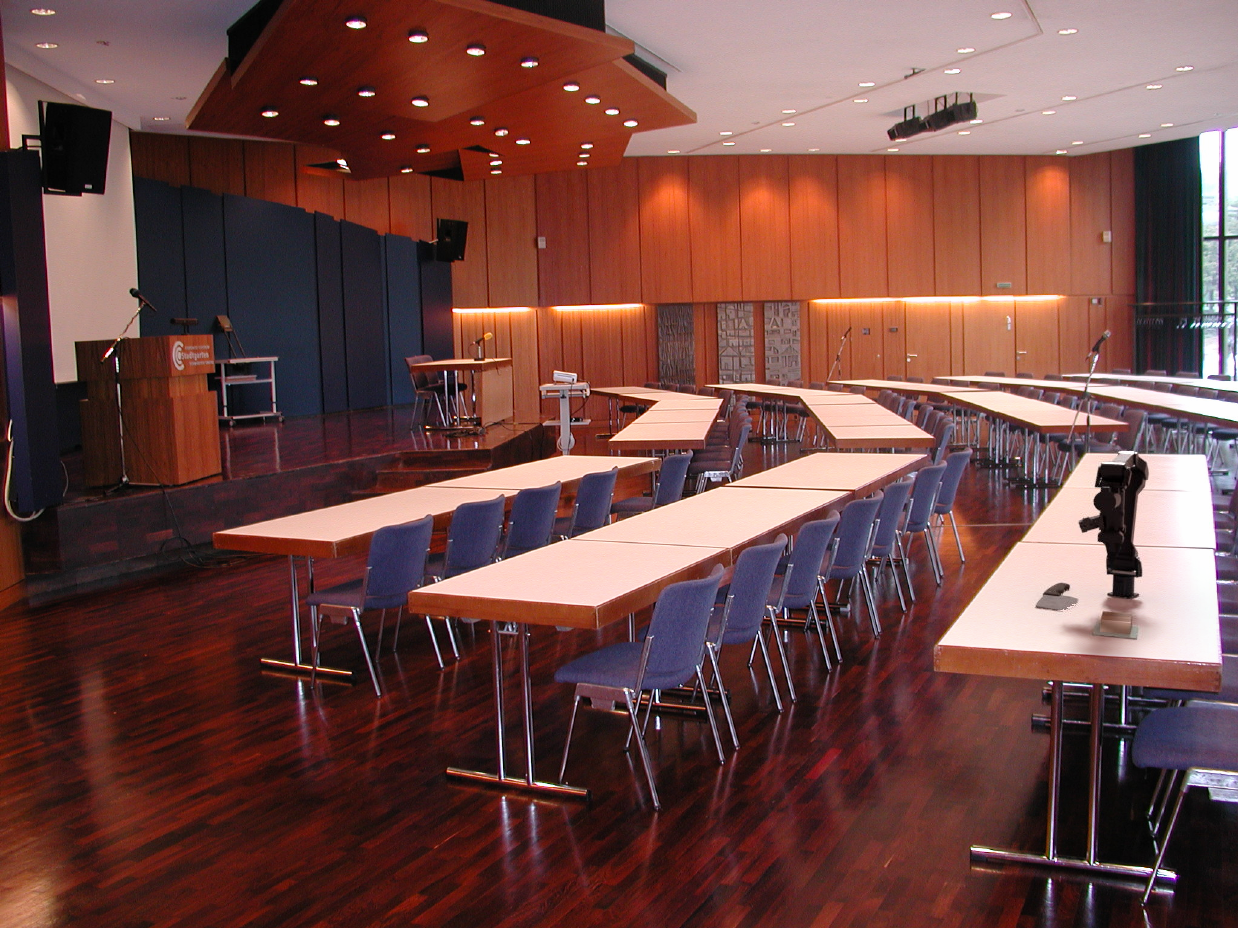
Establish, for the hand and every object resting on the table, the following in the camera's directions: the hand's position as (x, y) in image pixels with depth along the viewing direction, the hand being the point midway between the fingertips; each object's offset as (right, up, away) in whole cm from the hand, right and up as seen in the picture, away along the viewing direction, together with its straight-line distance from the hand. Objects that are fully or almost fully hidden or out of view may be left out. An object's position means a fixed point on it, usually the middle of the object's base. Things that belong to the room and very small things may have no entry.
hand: (1111, 562), depth 289 cm
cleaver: (-9, -12, +14) cm, 20 cm away
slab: (-5, -13, -15) cm, 21 cm away
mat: (-9, -16, -21) cm, 28 cm away
